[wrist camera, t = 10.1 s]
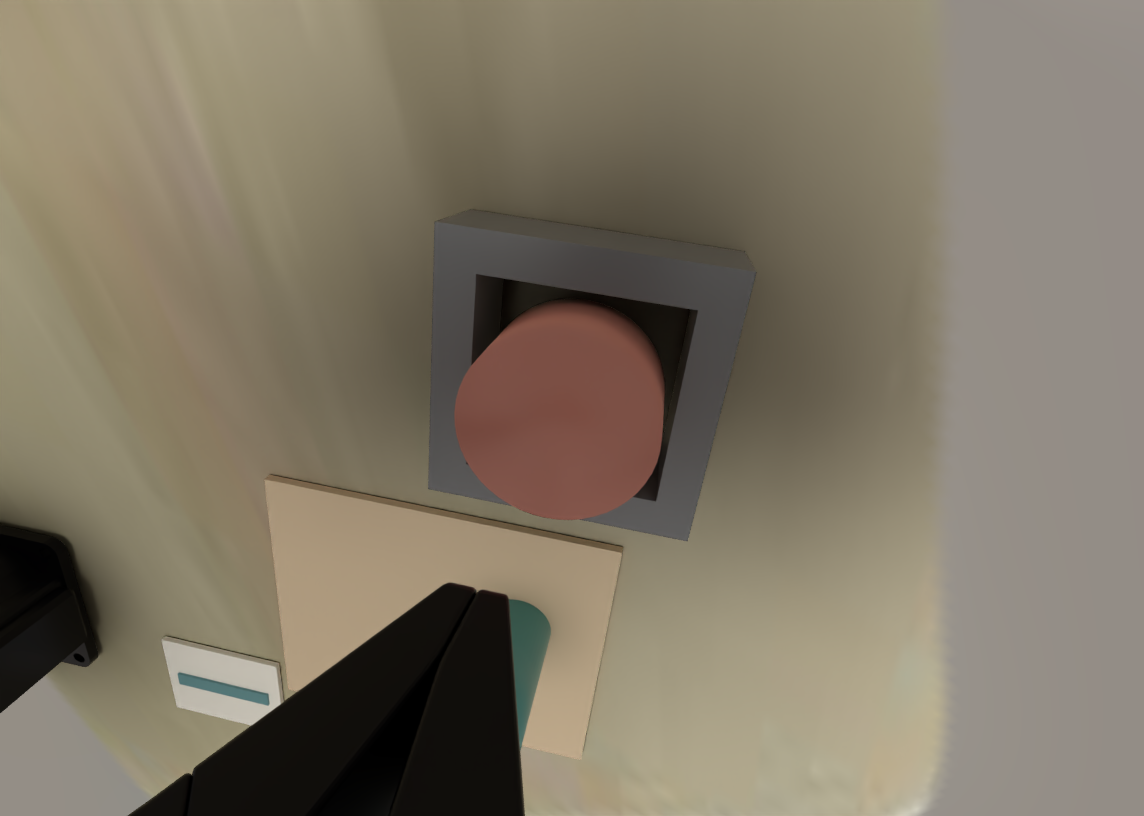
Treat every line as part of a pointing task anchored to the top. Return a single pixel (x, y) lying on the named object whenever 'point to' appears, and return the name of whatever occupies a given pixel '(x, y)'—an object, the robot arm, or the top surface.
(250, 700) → the card
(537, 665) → the marker
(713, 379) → the button housing
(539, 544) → the beige rectangular board
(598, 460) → the button
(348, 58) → the top surface
